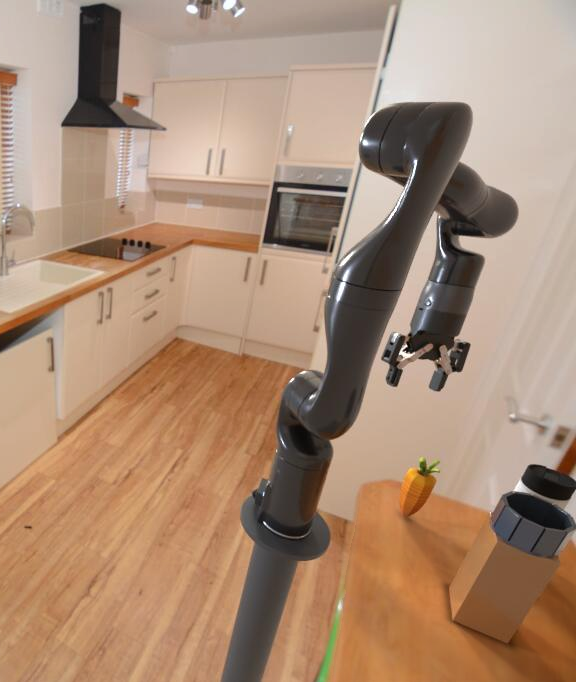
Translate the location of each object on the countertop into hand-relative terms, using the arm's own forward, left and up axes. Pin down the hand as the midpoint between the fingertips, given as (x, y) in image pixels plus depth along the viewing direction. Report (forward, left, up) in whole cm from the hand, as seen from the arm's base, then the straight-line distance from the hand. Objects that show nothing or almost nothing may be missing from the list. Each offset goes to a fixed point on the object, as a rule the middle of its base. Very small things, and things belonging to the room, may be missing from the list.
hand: (412, 387), depth 89 cm
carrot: (+5, -5, -26) cm, 28 cm away
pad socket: (+15, -24, -26) cm, 39 cm away
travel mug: (+21, -7, -26) cm, 34 cm away
